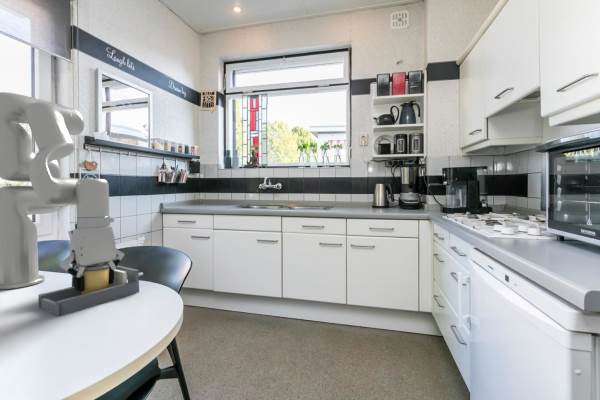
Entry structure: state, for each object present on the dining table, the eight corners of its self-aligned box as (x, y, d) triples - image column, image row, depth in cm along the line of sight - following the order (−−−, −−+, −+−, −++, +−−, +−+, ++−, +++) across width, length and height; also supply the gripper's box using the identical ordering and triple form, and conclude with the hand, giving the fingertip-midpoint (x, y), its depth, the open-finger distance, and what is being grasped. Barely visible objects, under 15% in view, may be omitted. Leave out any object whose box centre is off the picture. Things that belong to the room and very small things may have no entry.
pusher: (109, 289, 92) (108, 269, 92) (135, 282, 99) (134, 263, 99) (123, 293, 88) (123, 272, 88) (149, 285, 95) (149, 266, 95)
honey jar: (75, 295, 84) (76, 266, 84) (100, 289, 90) (101, 262, 90) (88, 299, 81) (88, 269, 81) (113, 293, 86) (114, 265, 86)
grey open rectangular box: (38, 307, 79) (37, 282, 79) (118, 285, 96) (117, 265, 96) (58, 315, 73) (57, 288, 73) (139, 291, 90) (138, 269, 90)
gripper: (118, 219, 94) (119, 277, 95) (49, 225, 79) (51, 293, 80) (132, 221, 90) (133, 281, 91) (63, 227, 75) (65, 299, 76)
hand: (95, 286), depth 85 cm, fingers open, 6 cm apart
